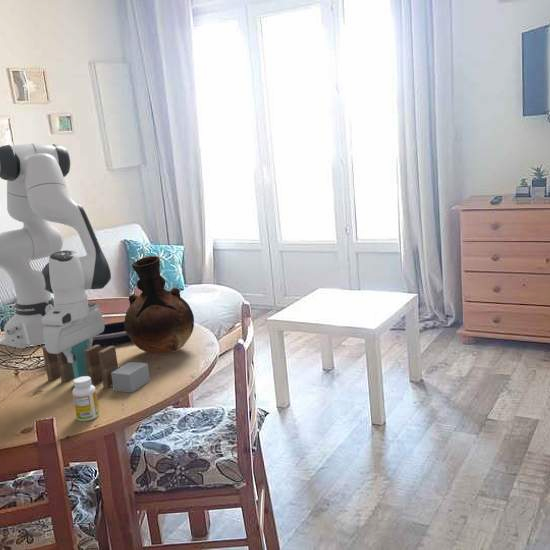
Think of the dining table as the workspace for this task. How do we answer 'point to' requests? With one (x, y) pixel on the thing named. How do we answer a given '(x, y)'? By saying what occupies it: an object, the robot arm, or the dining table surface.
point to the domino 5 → (108, 364)
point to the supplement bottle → (85, 399)
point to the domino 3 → (79, 360)
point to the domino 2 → (65, 368)
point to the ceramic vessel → (157, 312)
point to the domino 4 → (93, 364)
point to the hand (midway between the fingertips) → (79, 357)
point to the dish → (112, 335)
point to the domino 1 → (51, 365)
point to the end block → (130, 377)
